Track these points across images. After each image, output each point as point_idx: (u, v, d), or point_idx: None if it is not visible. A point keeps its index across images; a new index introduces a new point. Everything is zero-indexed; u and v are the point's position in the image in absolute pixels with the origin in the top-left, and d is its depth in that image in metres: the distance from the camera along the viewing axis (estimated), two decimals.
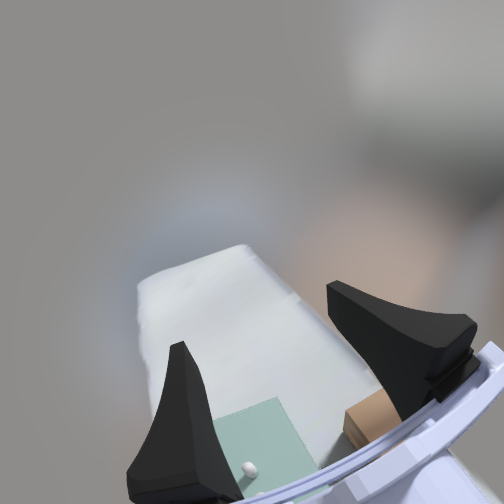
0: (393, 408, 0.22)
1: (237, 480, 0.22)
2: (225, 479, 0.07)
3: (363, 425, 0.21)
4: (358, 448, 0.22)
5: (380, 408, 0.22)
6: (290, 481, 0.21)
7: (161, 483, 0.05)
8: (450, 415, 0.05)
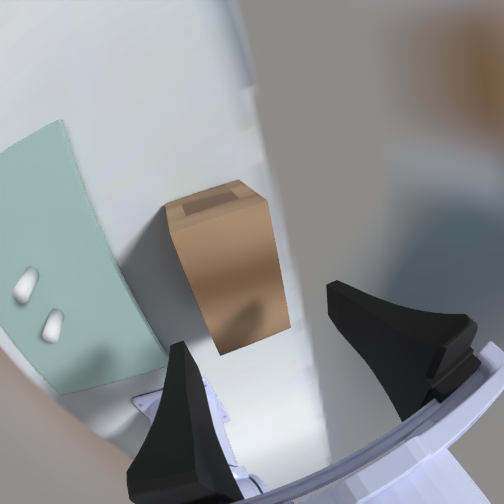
0: (256, 253, 0.15)
1: (17, 284, 0.15)
2: (225, 479, 0.07)
3: (194, 272, 0.15)
4: None
5: (234, 246, 0.15)
6: (81, 289, 0.17)
7: (161, 483, 0.05)
8: (450, 415, 0.05)
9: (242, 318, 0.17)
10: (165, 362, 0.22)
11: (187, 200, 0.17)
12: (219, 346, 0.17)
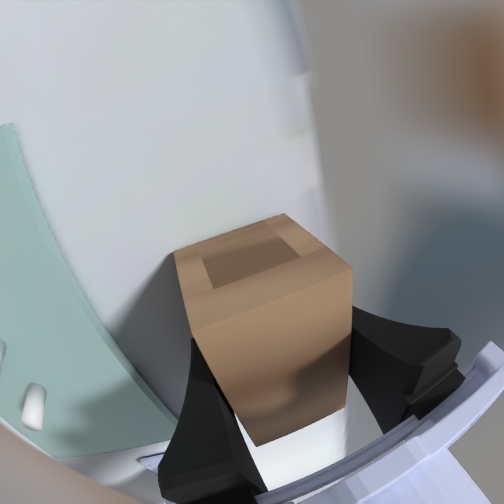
0: (324, 341, 0.09)
1: None
2: (253, 470, 0.08)
3: (231, 377, 0.09)
4: None
5: (295, 338, 0.09)
6: (63, 365, 0.11)
7: (198, 475, 0.05)
8: (450, 415, 0.05)
9: (290, 412, 0.11)
10: None
11: (210, 249, 0.11)
12: (256, 440, 0.12)
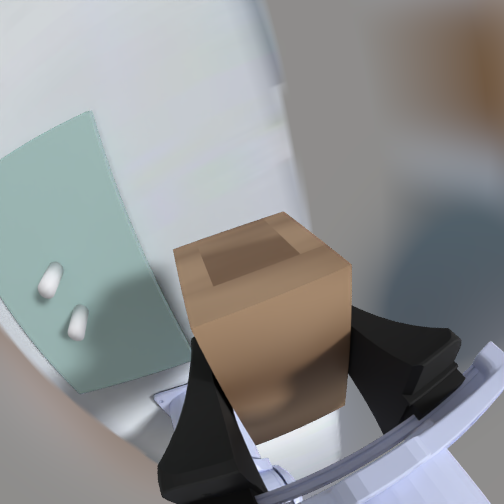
0: (323, 339, 0.10)
1: (39, 280, 0.15)
2: (253, 470, 0.08)
3: (230, 374, 0.09)
4: None
5: (294, 335, 0.09)
6: (108, 283, 0.17)
7: (198, 475, 0.05)
8: (450, 415, 0.05)
9: (290, 410, 0.11)
10: (190, 356, 0.22)
11: (210, 246, 0.11)
12: (256, 438, 0.12)
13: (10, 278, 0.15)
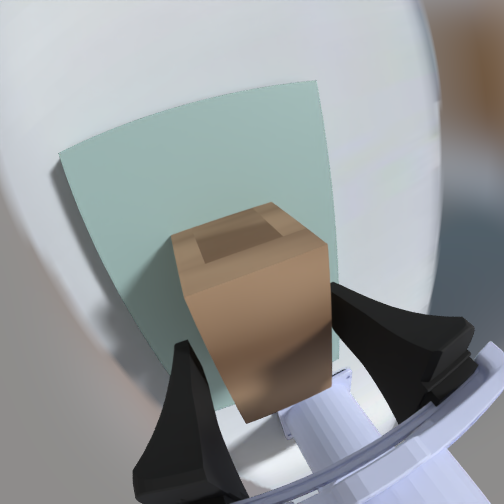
0: (305, 314, 0.11)
1: None
2: (231, 477, 0.08)
3: (219, 344, 0.10)
4: None
5: (277, 309, 0.10)
6: None
7: (168, 482, 0.05)
8: (450, 415, 0.05)
9: (277, 386, 0.12)
10: (336, 356, 0.22)
11: (204, 232, 0.12)
12: (246, 416, 0.13)
13: (154, 280, 0.14)
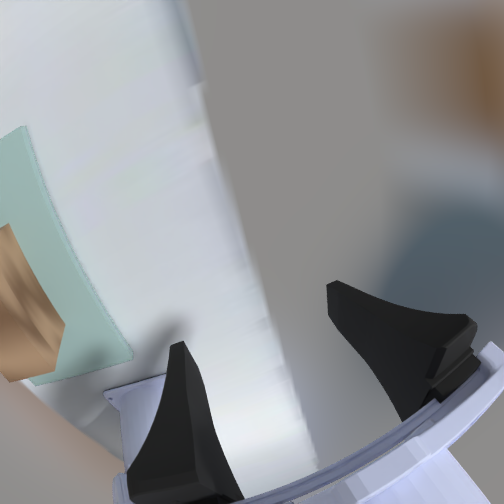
0: None
1: None
2: (225, 479, 0.07)
3: None
4: None
5: None
6: (46, 283, 0.17)
7: (161, 483, 0.05)
8: (450, 415, 0.05)
9: (6, 354, 0.13)
10: (128, 356, 0.22)
11: None
12: (4, 374, 0.13)
13: None
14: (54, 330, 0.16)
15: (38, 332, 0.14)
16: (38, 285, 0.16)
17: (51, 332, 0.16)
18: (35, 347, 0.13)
